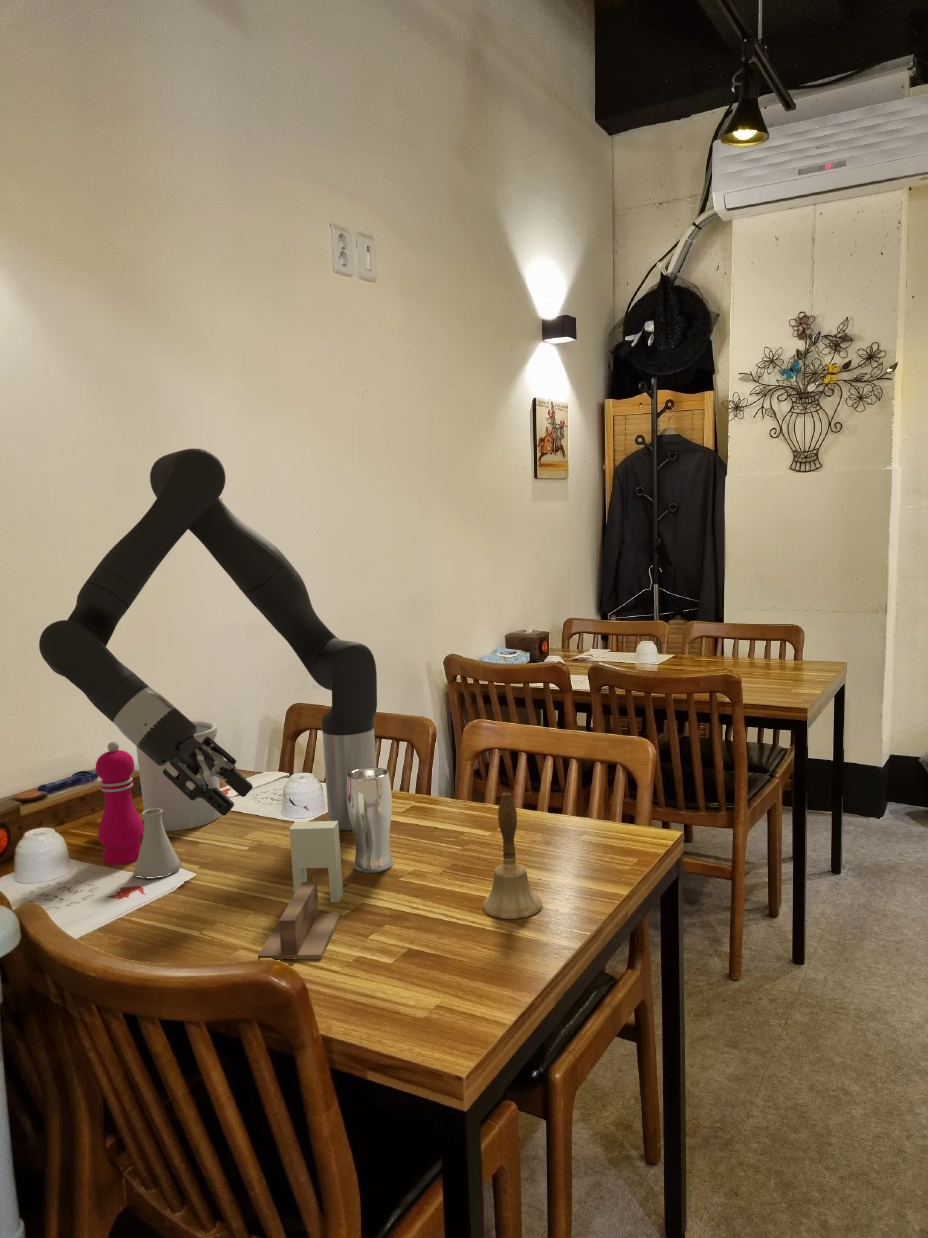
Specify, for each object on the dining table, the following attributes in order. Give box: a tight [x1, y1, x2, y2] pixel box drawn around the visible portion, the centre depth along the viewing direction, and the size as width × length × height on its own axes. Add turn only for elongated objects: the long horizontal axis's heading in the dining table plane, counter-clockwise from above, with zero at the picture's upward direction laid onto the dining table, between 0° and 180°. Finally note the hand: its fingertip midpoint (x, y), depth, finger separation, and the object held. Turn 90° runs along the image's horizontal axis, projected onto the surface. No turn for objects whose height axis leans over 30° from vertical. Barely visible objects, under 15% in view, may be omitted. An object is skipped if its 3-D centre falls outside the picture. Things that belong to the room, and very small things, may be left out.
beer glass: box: [347, 767, 394, 874], centre depth 140 cm, size 7×7×15 cm
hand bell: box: [481, 792, 543, 920], centre depth 123 cm, size 8×8×16 cm
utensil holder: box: [136, 719, 221, 832], centre depth 168 cm, size 15×15×18 cm
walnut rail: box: [257, 881, 342, 961], centre depth 117 cm, size 12×8×5 cm, turn 176°
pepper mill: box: [95, 741, 144, 866], centre depth 149 cm, size 7×7×20 cm
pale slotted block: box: [289, 820, 344, 904], centre depth 129 cm, size 6×3×11 cm, turn 86°
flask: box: [132, 808, 182, 879], centre depth 143 cm, size 7×7×10 cm
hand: (239, 801), depth 128 cm, fingers open, 8 cm apart
